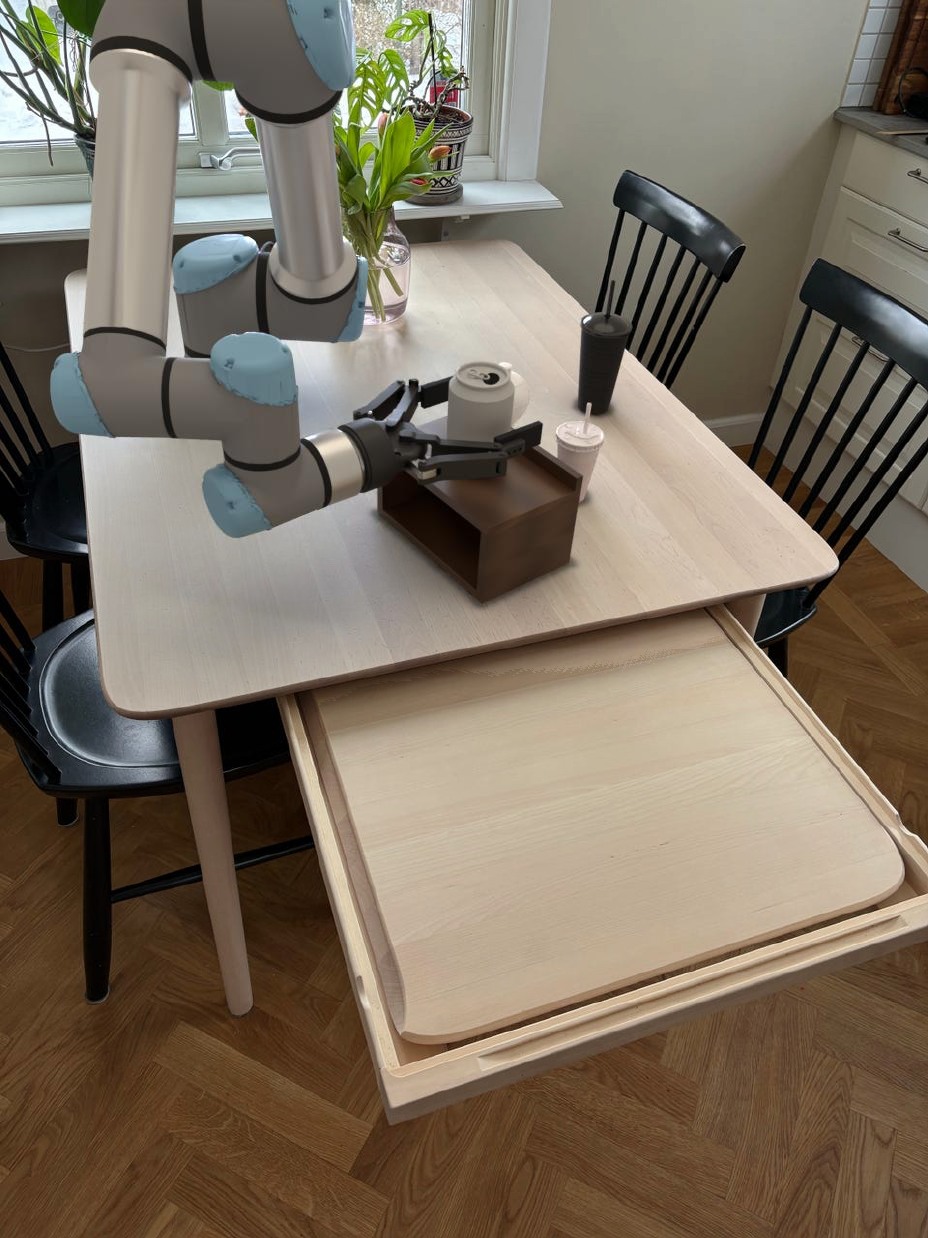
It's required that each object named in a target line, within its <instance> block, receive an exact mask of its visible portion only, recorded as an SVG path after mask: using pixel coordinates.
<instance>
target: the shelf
mask: <svg viewBox="0 0 928 1238" xmlns="http://www.w3.org/2000/svg"><path fill="white" fill-rule="evenodd" d="M447 416H448V414H446V415H445V416H442V417H438V418H436V419H433V420H430V421H427V422H424V423H421V424H419V425H415V426H416V428H417V429H419V430H421V431H423V432H424V433H426V434H435V435H438V436H439V438H440V439H446V437H447ZM515 429H516V428H514V427H513V426H512V427H511V431H512V430H515ZM426 456H430V457H431V445H430V444H428V451H427V453H426V455H425V457H426ZM582 480H583V475H581V474H580V473H578V472H577V471H575V470H574V469H572V468H571V467H570V466H568V465H567V464H565V463H564V462H562V461H561V460H559V459H558V458H557V457H556V456H555V455H554V454H552V453H551V452H549V451H548V450H546V449H545V448H543V447H542V446H540V445H538V446H535V447H532V448H530V449H527V450H525V451H524V452H523V453H522V454H520V455H517V456H515V457H513V458H510V459H508V462H507V471H506V475H505V476H503V477H490V478H476V479H461V480H447V481H438V482H434V483H431V484H428V485H420V484H418V475H417V474H416V473H415V472H414V471H413V470H411V471H401V472H399V473H398V474H397V475H396V476H395V477H394V478H393V480H392V481H391V482H390V483H389V484H387V485H385V486H382V487H379V488H377V489H376V509H377V510H376V511H377V514H378V515H379V516H380V517H382V519H384V520H385V521H386V522H387V523H388V524H389V525H391V526H392V527H393V528H394V529H395V530H396V531H398V532H399V533H400V534H401V535H402V536H403V537H404V538H405V539H407V540H408V541H409V542H410V543H411V544H413V545H414V546H415V547H416V548H417V549H419V551H421V552H422V553H423V554H424V555H426V557H427V558H429V559H430V560H431V561H432V562H433V563H435V565H437V566H438V567H439V568H441V569H442V570H443V571H444V572H445V573H446V574H447V575H448V576H449V577H451V578H452V579H453V580H454V581H455V582H457V583H458V585H460V586H461V587H462V588H463V589H464V590H466V591H467V592H468V593H469V594H470V595H472V596H473V598H475V599H476V600H477V601H478V602H479V603H481V604H485V603H487V602H489V601H490V600H493V599H495V598H498V597H499V596H502V595H504V594H506V593H508V592H510V591H512V590H514V589H516V588H518V587H520V586H523V585H524V584H527V583H529V582H531V581H533V580H535V579H538V578H539V577H541V576H543V575H546V574H548V573H551V572H552V571H554V570H556V569H558V568H560V567H563V566H564V565H567V564H569V563H570V561H571V556H572V550H573V549H572V548H573V544H574V543H573V542H574V536H575V531H576V525H577V524H576V523H577V518H578V512H579V505H580V502H579V499H580V492H581V487H582Z"/></svg>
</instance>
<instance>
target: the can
mask: <svg viewBox="0 0 928 1238" xmlns="http://www.w3.org/2000/svg"><path fill="white" fill-rule="evenodd" d="M454 375H455V376H454V377H453V378H452V379H451V380H450V381H449V395H448V401H447V415H448V416H447V415H446V416H447V437H446V439H451V440H466V441H481V442H494V437H496V436H498V435H501V434H504V433H506V432H509V431H511V422H512V412H513V402H514V392H515V386H514V384H513V382H512V381H511V380H510V373H509V371H508V370H507V369H505V368H504V367H503V366H501V365H499V364H498V363H495V362H491V361H487V360H485V361H484V360H476V361H469V362H465V363H463V364H461V365H459V366H458V367H457V368H456V369H455V371H454ZM507 462H508V461H507Z"/></svg>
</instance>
